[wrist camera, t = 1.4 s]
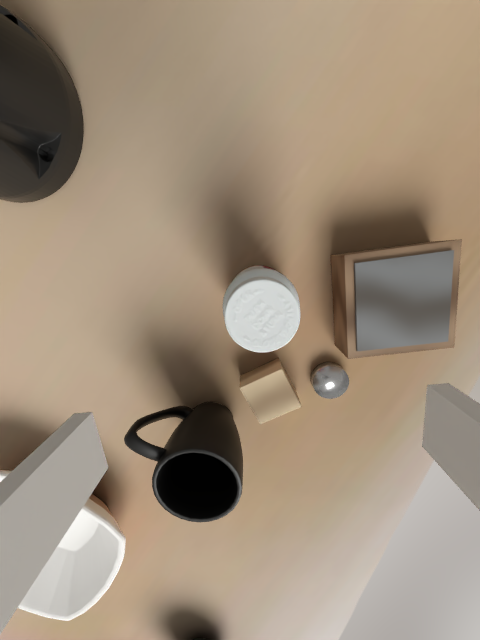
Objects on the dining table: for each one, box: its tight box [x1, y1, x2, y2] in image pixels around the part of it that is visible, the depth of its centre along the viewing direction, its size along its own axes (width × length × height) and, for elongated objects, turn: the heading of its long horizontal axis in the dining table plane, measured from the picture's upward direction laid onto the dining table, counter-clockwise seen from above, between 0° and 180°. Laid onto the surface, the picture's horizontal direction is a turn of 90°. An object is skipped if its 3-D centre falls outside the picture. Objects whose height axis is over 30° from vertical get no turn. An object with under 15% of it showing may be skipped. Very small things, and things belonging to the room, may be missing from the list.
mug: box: [124, 402, 243, 522], centre depth 27 cm, size 8×12×10 cm
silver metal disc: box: [311, 362, 349, 399], centre depth 30 cm, size 4×4×1 cm
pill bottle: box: [223, 265, 300, 352], centre depth 23 cm, size 6×6×11 cm
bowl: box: [0, 470, 126, 621], centre depth 34 cm, size 22×22×5 cm
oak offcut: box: [240, 358, 301, 424], centre depth 29 cm, size 5×5×3 cm
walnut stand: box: [331, 239, 462, 359], centre depth 25 cm, size 10×10×4 cm
